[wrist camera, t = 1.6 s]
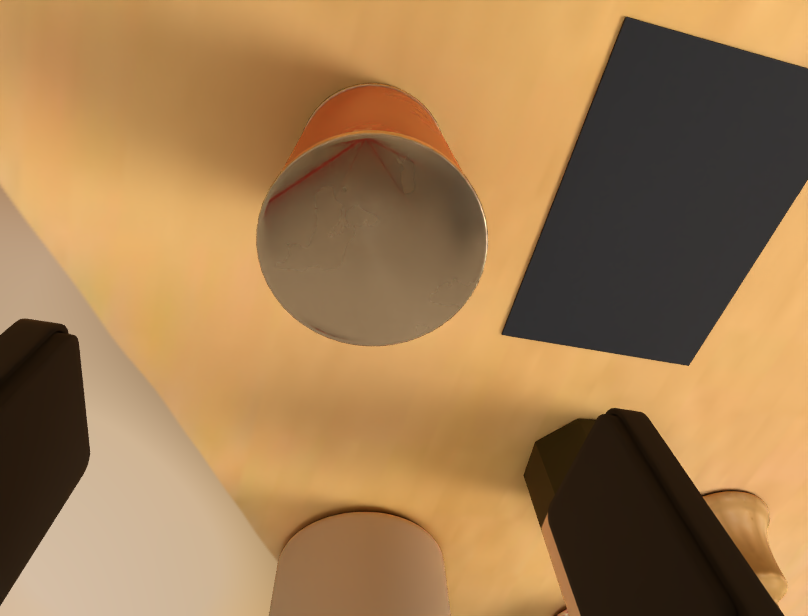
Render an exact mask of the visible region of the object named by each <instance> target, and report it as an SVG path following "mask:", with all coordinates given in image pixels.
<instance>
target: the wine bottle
mask: <svg viewBox="0 0 808 616" xmlns="http://www.w3.org/2000/svg"><path fill="white" fill-rule="evenodd" d="M595 421H596V420H591V419H577V420H575V421H573V422H571V423H569V424H568V425H566V426H564V427H562V428H560V429H559V430H557V431H555V432H553V433H551V434H550V435H548V436H546V437H544V438H542V439H540V440H539V441H537V442H535V445H534V448H533V450H532V453H531V456H530V459H529V462H528V465H527V467H526V470H525V473H524V478H525V481H526V484H527V487H528V490H529V493H530V496H531V500H532V503H533V506H534V509H535V512H536V515H537V518H538V521H539V524H540V527H541V530H542V534H543V537H544V540H545V543H546V546H547V549H548V552H549V555H550V558H551V561H552V564H553V567H554V571H555V574H556V577H557V580H558V583H559V586H560V589H561V592H562V595H563V598H564V601H565V604H566V608H567V611H568V614H569V616H580V613H579V610H578V607H577V604H576V601H575V598H574V595H573V593H572V590H571V587H570V584H569V581H568V578H567V575H566V572H565V569H564V567H563V564H562V561H561V558H560V555H559V552H558V549H557V546H556V544H555V541H554V538H553V535H552V532H551V529H550V526H549V523H548V508H549V505H550V503H551V501H552V499H553V497H554V496H555V494H556V492H557V490H558V488H559V487H560V485H561V483H562V481H563V479H564V478H565V476H566V474H567V472H568V470H569V468H570V467H571V465H572V463H573V461H574V459H575V458H576V456H577V454H578V452H579V450H580V449H581V447H582V445H583V443H584V441H585V440H586V438H587V436H588V434H589V432H590V430H591V429H592V427H593V425H594V423H595Z"/></svg>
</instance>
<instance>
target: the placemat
mask: <svg viewBox="0 0 808 616" xmlns="http://www.w3.org/2000/svg"><path fill="white" fill-rule="evenodd" d="M807 180H808V69H807V68H804V67H800V66H797V65H793V64H790V63H786V62H783V61H779V60H776V59H772V58H769V57H765V56H762V55H758V54H755V53H751V52H748V51H744V50H741V49H737V48H734V47H730V46H727V45H723V44H720V43H716V42H713V41H709V40H706V39H702V38H699V37H695V36H692V35H688V34H685V33H681V32H678V31H674V30H671V29H667V28H664V27H660V26H657V25H653V24H650V23H646V22H643V21H639V20H636V19H632V18H629V17H625V20H624V22H623V25H622V27H621V30H620V33H619V35H618V38H617V40H616V43H615V45H614V48H613V50H612V53H611V56H610V58H609V61H608V63H607V66H606V68H605V71H604V73H603V76H602V79H601V81H600V84H599V86H598V89H597V91H596V94H595V97H594V99H593V102H592V104H591V107H590V109H589V112H588V114H587V117H586V120H585V122H584V125H583V127H582V130H581V132H580V135H579V137H578V140H577V143H576V145H575V148H574V150H573V153H572V155H571V158H570V161H569V163H568V166H567V168H566V171H565V173H564V176H563V178H562V181H561V184H560V186H559V189H558V191H557V194H556V196H555V199H554V201H553V204H552V207H551V209H550V212H549V214H548V217H547V219H546V222H545V225H544V227H543V230H542V232H541V235H540V237H539V240H538V242H537V245H536V248H535V250H534V253H533V255H532V258H531V260H530V263H529V265H528V268H527V271H526V273H525V276H524V278H523V281H522V283H521V286H520V289H519V291H518V294H517V296H516V299H515V301H514V304H513V306H512V309H511V312H510V314H509V317H508V319H507V322H506V324H505V327H504V330H503V332H502V335H506V336H512V337H518V338H524V339H530V340H536V341H542V342H548V343H554V344H560V345H566V346H572V347H578V348H584V349H591V350H597V351H603V352H609V353H615V354H621V355H627V356H633V357H639V358H645V359H651V360H657V361H663V362H669V363H675V364H681V365H687V366H689V365H690V363H691V361H692V360H693V358H694V357H695V355H696V354H697V352H698V350H699V349H700V347H701V346H702V344H703V343H704V341H705V340H706V338H707V336H708V335H709V333H710V332H711V330H712V329H713V327H714V325H715V324H716V322H717V321H718V319H719V318H720V316H721V314H722V313H723V311H724V310H725V308H726V307H727V305H728V304H729V302H730V300H731V299H732V297H733V296H734V294H735V293H736V291H737V289H738V288H739V286H740V285H741V283H742V282H743V280H744V279H745V277H746V275H747V274H748V272H749V271H750V269H751V268H752V266H753V264H754V263H755V261H756V260H757V258H758V257H759V255H760V253H761V252H762V250H763V249H764V247H765V246H766V244H767V243H768V241H769V239H770V238H771V236H772V235H773V233H774V232H775V230H776V228H777V227H778V225H779V224H780V222H781V221H782V219H783V217H784V216H785V214H786V213H787V211H788V210H789V208H790V207H791V205H792V203H793V202H794V200H795V199H796V197H797V196H798V194H799V192H800V191H801V189H802V188H803V186H804V185H805V183H806V182H807Z"/></svg>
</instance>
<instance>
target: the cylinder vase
mask: <svg viewBox="0 0 808 616" xmlns="http://www.w3.org/2000/svg"><path fill="white" fill-rule="evenodd" d="M269 616H451V613H450V605H449V597H448V589H447V582H446V574H445V566H444V559H443V555H442V552H441V549H440V547H439V545H438V544H437V542H436V541H435V540H434V538H433V537H432V536H431V535H430V534H429V533H428V532H427V531H425V530H424V529H423V528H421V527H420V526H418V525H417V524H415V523H413V522H411V521H409V520H406V519H404V518H401V517H398V516H394V515H390V514H385V513H378V512H350V513H343V514H338V515H333V516H330V517H326V518H324V519H321V520H318V521H316V522H314V523H312V524H310V525H308V526H306V527H305V528H303V529H302V530H300V531H299V532H298V533H297V534H295V535H294V536H293V537H292V538H291V539H290V540H289V542H288V543H287V544H286V545H285V547H284V549H283V550H282V552H281V555H280V557H279V561H278V565H277V571H276V577H275V583H274V589H273V595H272V600H271V606H270V612H269Z"/></svg>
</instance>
